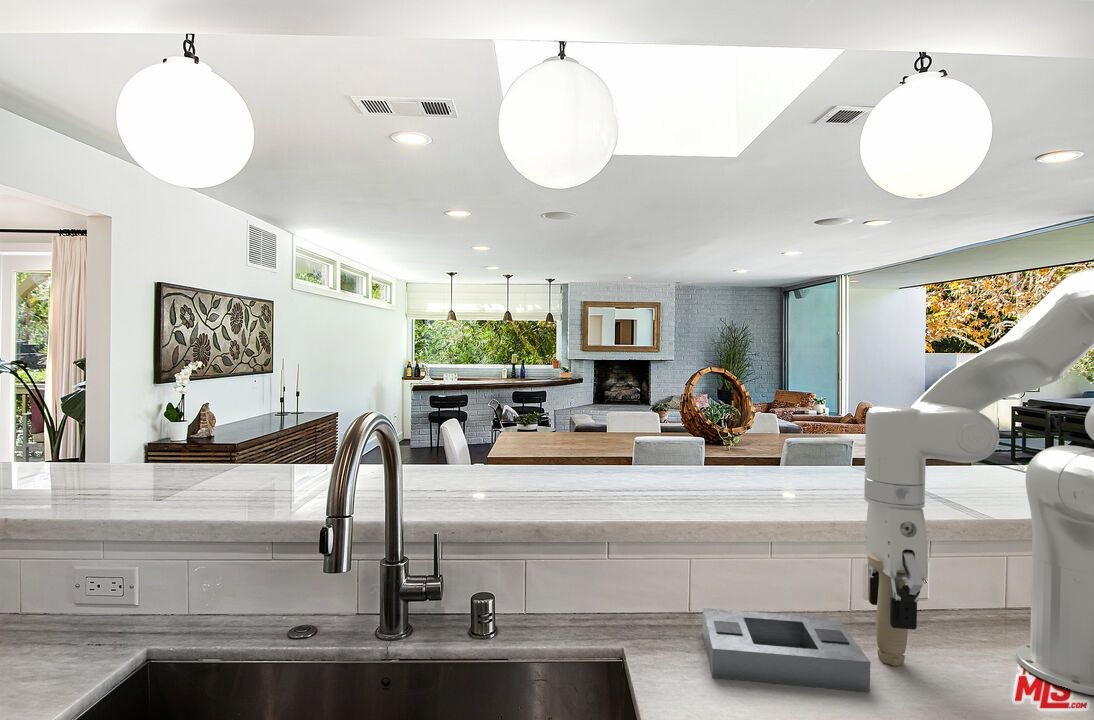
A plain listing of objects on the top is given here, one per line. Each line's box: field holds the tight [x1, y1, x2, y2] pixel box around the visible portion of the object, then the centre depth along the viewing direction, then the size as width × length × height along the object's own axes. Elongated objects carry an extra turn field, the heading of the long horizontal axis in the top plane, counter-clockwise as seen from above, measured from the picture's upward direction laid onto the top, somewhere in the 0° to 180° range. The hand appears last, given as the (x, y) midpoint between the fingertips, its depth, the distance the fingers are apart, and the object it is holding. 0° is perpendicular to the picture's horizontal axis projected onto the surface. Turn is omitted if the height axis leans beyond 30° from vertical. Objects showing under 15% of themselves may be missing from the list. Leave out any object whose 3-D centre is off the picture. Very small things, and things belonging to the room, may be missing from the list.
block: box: [702, 607, 871, 693], centre depth 86 cm, size 20×13×4 cm, turn 81°
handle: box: [867, 553, 909, 667], centre depth 86 cm, size 5×6×15 cm
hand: (891, 614), depth 86 cm, fingers open, 6 cm apart
